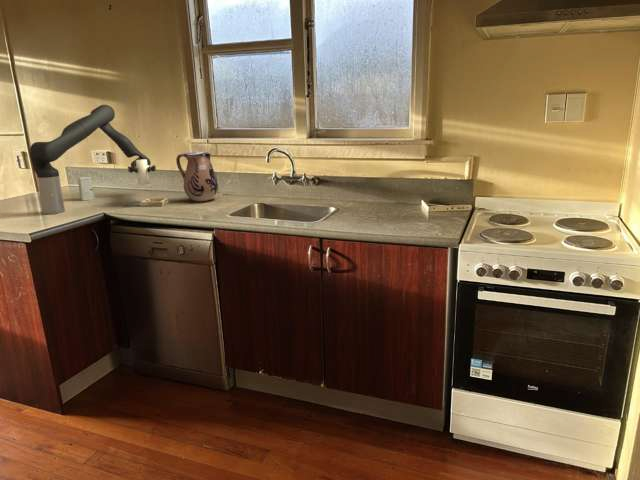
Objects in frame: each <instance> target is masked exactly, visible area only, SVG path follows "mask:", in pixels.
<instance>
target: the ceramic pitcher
mask: <svg viewBox="0 0 640 480" xmlns="http://www.w3.org/2000/svg"><path fill="white" fill-rule="evenodd" d="M182 157H185V158H186V160H187V164H186V168H185V169H186V170H185V171H184V169H183V167H182V164H181V158H182ZM175 162H176V166H177V168H178V171H179V173H180V174H181V176H182V178H183V190H184V192H185V195H186V197H188V198H189V199H190V200H192V201H193V202H207V201H211V200H212V199H214V198H215V196H216V195H217V193H218V190H219V184H218V179H217V176H216V173H215V170H214V167H213V165H212V161H211V153H210V152H206V151H201V152H196V151H195V152H182V153H179V154H178V155H177V156H176V161H175Z"/></svg>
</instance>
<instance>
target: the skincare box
mask: <svg viewBox="0 0 640 480" xmlns="http://www.w3.org/2000/svg"><path fill="white" fill-rule="evenodd" d="M77 183H78V189H79V190H78V191H79V197H80V200H81V201H93V200H95V195H94V187H93V181H92V177H90V176H87V177H77Z"/></svg>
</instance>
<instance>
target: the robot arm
mask: <svg viewBox="0 0 640 480" xmlns="http://www.w3.org/2000/svg"><path fill="white" fill-rule="evenodd" d="M115 115H116V113H115V110H114V108H113V107H112V106H111V105H109V104H101V105H99V106H97V107H96V108H93V109H92V110H91V111H90V114H88V115H86V116H84V117H81V118H79V119H76V120H74V121H72V122H71V123H69V124H68V125H66V126H65V127H64V128H63V129H62V132H61V134H60V135H59V136H58V137H56V138H55V139H52V140H50V141H36V142H35V141H34V142H33V143H32V144H31V145H30V147H29V148H30V149H29V156H30V160H31V163H32V169H33V171H34V173H35V174H36V178H37V184H38V190H39V194H38V195H39V196H38V197H39V200H40V207H41V213H42V215H54V214H60V213H64V212H65V211H66V208H65V203H64V197H63V191H62V185H61V179H60V178H61V177H60V171H59V170H58V169H57V168H55V167H54V166H53V165H52V164H51V163H53V162H55V161H57V160H59V158H61V157H62V156H63V155H64V154H65V153H66V152H68V150H70V149H72V148H73V147H75V146H76V145H77V144H80V143H81V142H82V141H84V140H85V139H87V138H88V137H89V136H91V135H92V134H93V133H94V132H95V131H96V130H97V129H100V130H101V131H102V132H104V134H105V135H107V137H108V138H110V139H111V140H112V141H113V142H114V143H115V144H116V145H117V147H118V148H119V150H121V152H122V153H123V154H124V156H125V157H126V158H128V159H129V158H132V157H135V156H136V157H137V158H136V159H134V160H133V161H132V162H131V163H130V166H127V171H128V173H134V174H135V173H136V174H137V167H136V160H139V159H145V160H147V166H148V173H151V172H153V173H154V172H155V171H157V167H156V165H155V164H153V165H151V164H152V163H151V160H150V159H149V157H147V156H146V155H145V154H144V153H142V152H141V151H140V150H138V148H137V147H136V146H135V144H133V142H132V141H131V139H129V138H128V137H127V136H126V135H124V134H123V133H121V132H119V130H116V129H115V128H114V127H113V126H112V125H111V122H112V121H113V120H114V119H115Z"/></svg>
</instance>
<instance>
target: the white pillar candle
mask: <svg viewBox="0 0 640 480" xmlns="http://www.w3.org/2000/svg"><path fill="white" fill-rule="evenodd" d="M135 160H136V159H135ZM136 167H137V173H136V175H137V183H138V185H141V186H143V185H149V184H150V177H149V172H148V166H147V160H145V159H139V160H136Z"/></svg>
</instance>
